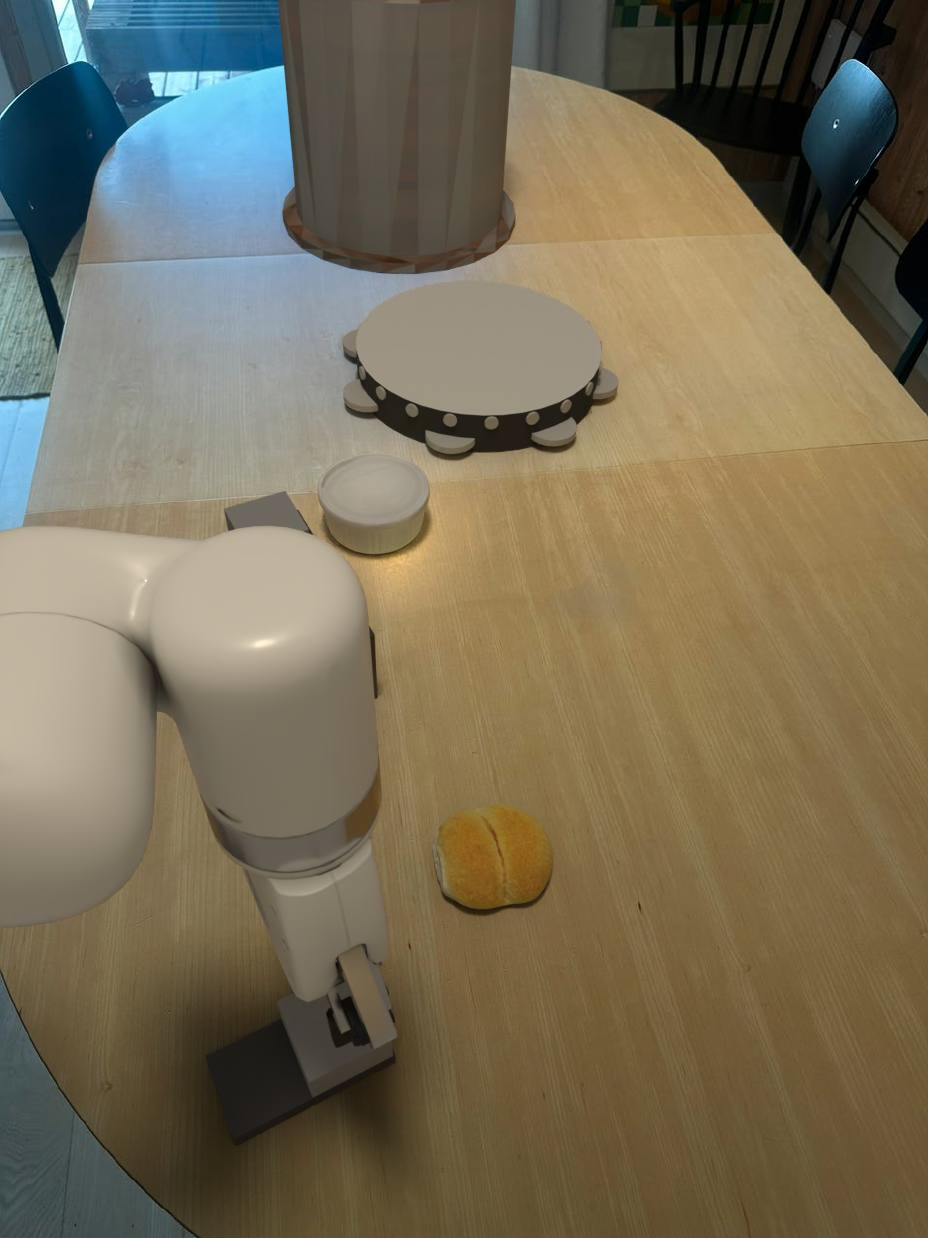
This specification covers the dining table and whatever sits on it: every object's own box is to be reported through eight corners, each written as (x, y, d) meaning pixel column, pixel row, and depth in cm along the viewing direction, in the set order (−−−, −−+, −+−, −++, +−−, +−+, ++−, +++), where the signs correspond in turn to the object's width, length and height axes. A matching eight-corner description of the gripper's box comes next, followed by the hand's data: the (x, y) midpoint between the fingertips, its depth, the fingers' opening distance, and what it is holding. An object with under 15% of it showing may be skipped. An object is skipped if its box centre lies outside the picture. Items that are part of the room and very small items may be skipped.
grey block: (192, 605, 82) (183, 567, 78) (173, 563, 85) (163, 525, 82) (315, 565, 85) (311, 528, 82) (292, 527, 89) (287, 489, 85)
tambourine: (620, 323, 128) (626, 288, 124) (610, 481, 106) (617, 444, 102) (367, 295, 131) (365, 260, 127) (304, 444, 108) (301, 406, 105)
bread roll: (564, 900, 72) (570, 874, 69) (446, 923, 71) (448, 898, 68) (534, 806, 78) (538, 778, 75) (424, 825, 76) (425, 798, 73)
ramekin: (358, 477, 105) (356, 438, 101) (449, 512, 101) (450, 473, 98) (298, 538, 98) (294, 498, 94) (393, 578, 95) (392, 538, 91)
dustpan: (236, 1146, 60) (226, 1125, 57) (208, 1062, 64) (197, 1038, 60) (396, 1062, 64) (395, 1038, 61) (362, 987, 67) (359, 961, 64)
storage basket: (521, 176, 158) (540, -60, 134) (507, 283, 134) (527, 19, 111) (309, 159, 159) (290, -78, 135) (258, 262, 136) (225, -4, 112)
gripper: (150, 673, 45) (212, 854, 58) (282, 1004, 35) (323, 1136, 48) (300, 620, 48) (329, 804, 60) (464, 914, 38) (457, 1062, 50)
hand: (326, 951), depth 54 cm, fingers open, 9 cm apart
